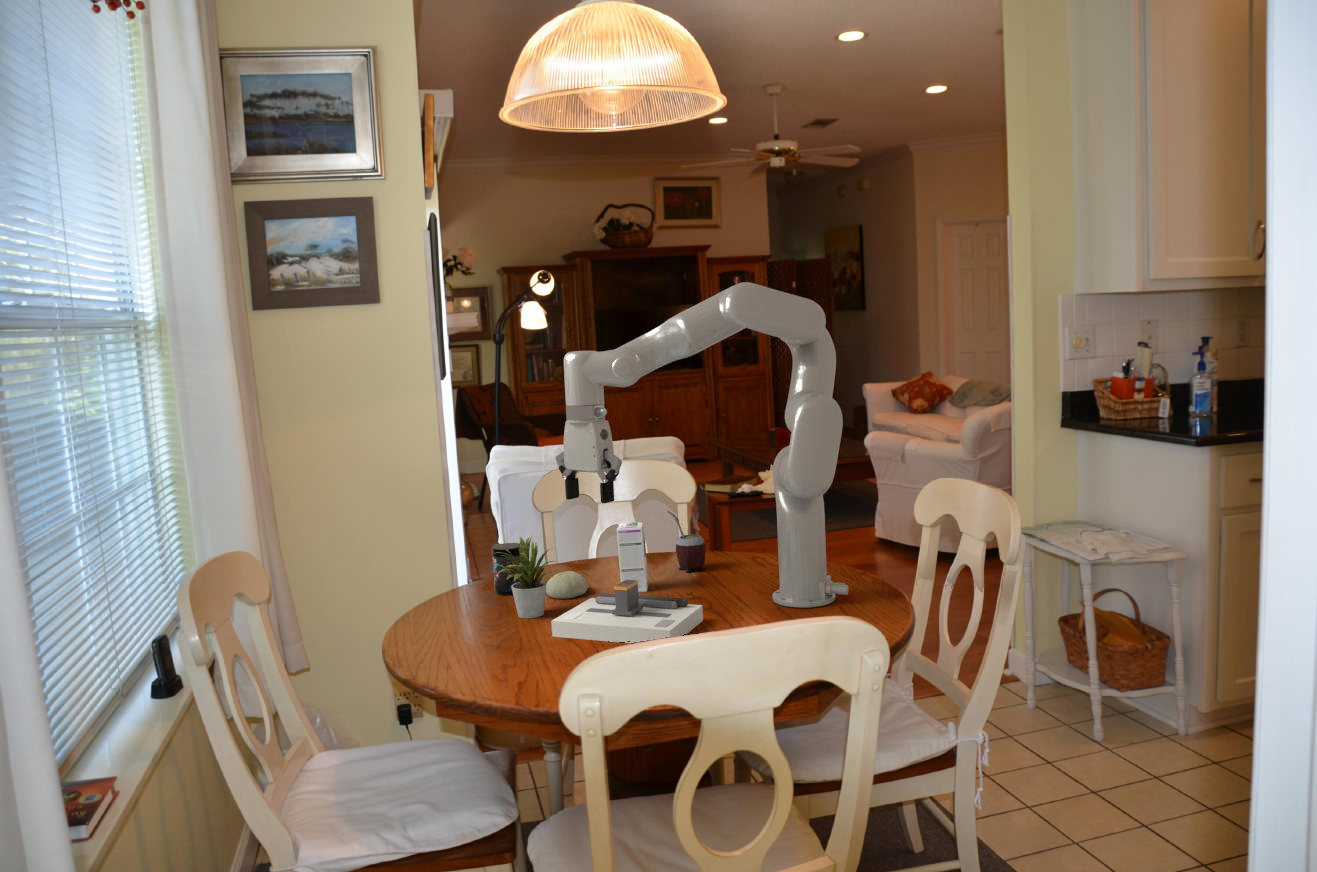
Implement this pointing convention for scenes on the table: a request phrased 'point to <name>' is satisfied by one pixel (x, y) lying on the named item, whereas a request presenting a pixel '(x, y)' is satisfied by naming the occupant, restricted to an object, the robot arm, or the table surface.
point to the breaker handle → (627, 598)
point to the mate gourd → (690, 550)
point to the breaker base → (628, 620)
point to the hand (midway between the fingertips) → (589, 500)
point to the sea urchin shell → (566, 585)
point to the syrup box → (632, 553)
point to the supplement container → (500, 578)
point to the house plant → (528, 580)
